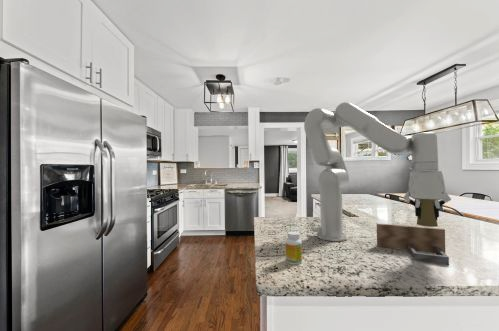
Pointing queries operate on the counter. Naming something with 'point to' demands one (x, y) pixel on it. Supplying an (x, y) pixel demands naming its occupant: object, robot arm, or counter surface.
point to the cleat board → (414, 241)
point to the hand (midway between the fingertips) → (427, 218)
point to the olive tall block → (427, 213)
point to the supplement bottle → (293, 248)
